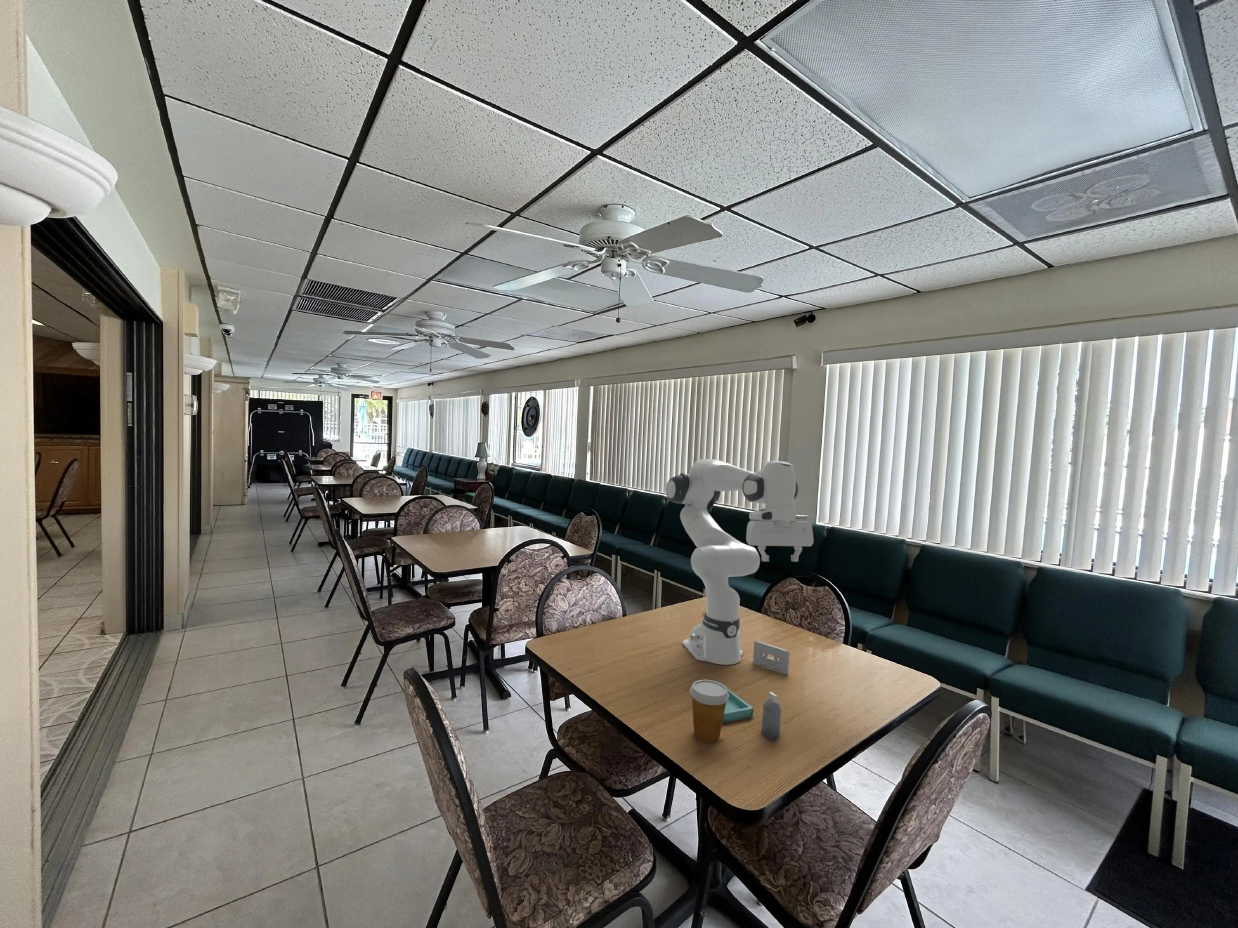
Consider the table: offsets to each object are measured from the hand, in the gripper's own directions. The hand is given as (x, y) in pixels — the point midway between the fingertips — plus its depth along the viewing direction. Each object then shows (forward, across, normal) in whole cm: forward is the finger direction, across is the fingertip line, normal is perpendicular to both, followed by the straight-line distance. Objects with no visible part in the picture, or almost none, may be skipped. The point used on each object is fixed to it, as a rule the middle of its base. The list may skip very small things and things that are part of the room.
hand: (780, 561), depth 148 cm
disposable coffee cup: (+41, +28, +16) cm, 53 cm away
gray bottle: (+41, +12, +17) cm, 46 cm away
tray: (+40, +19, +4) cm, 44 cm away
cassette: (+38, -7, -20) cm, 43 cm away
